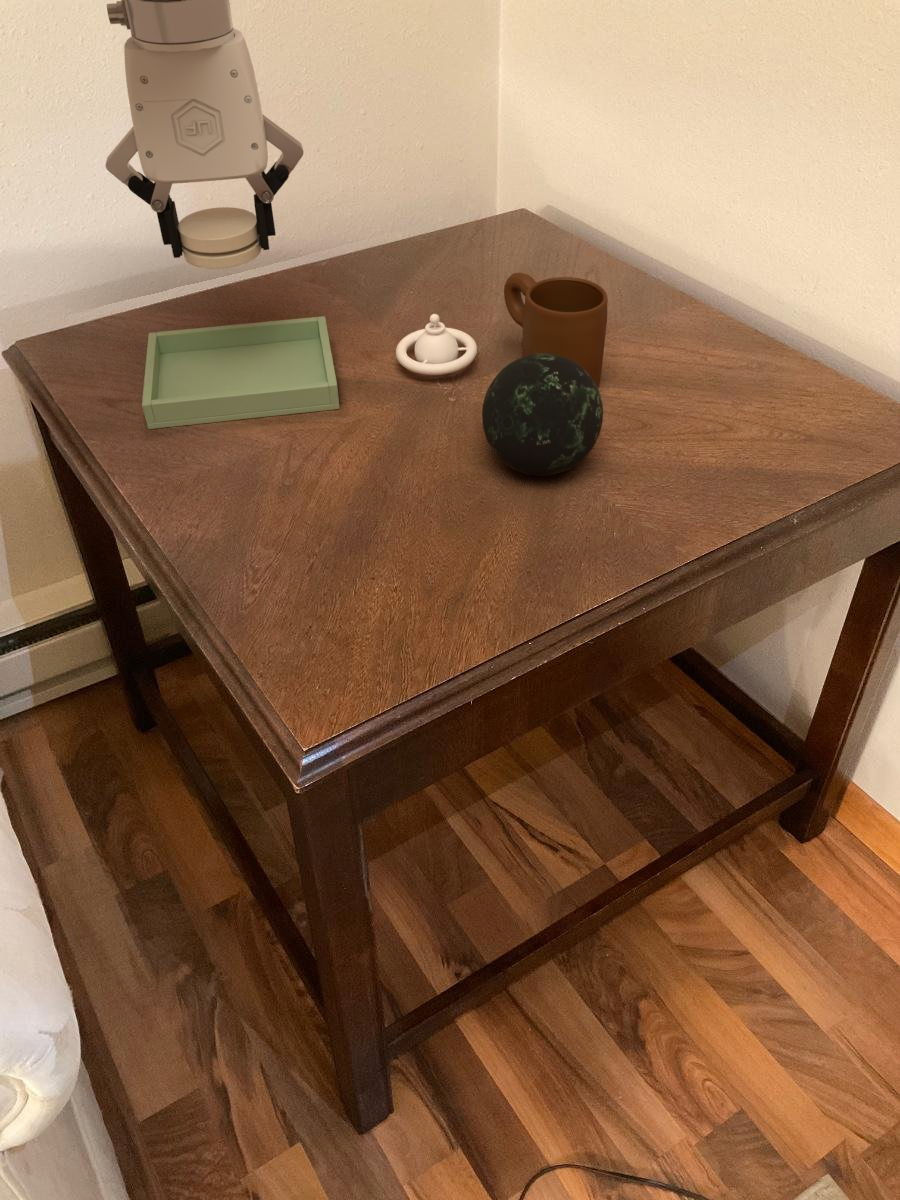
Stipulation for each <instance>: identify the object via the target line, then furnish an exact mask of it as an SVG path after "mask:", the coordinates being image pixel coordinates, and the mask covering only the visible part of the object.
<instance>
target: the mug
mask: <svg viewBox="0 0 900 1200" xmlns="http://www.w3.org/2000/svg"><path fill="white" fill-rule="evenodd" d="M522 295H523V296H524V297H525V298H524V301H523V297H522ZM503 297H504V302H505V306H506V309H507V311H508V313H509V315H510V317H511V318H512V320H513V321H514V322H515V323H516V324H517V325H518V326H520V327H521V328H522V336H521V339H522V340H521V345H522V346H521V358H522V357H525V356H528V355H532V354H539V353H546V354H555V355H559V356H563V357H565V358H568V359H570V360H572V361H574V362H575V363H577V364H578V365H580V366H581V367H582V368H583V369H584V370H585V371H586V372H587V373H588V374H589V375H590V377H591V378H592V379H593V381H594V382H595V384H596V386H597V388H598V389H599V388H600V384H601V378H602V369H603V360H604V352H605V343H606V334H607V333H606V332H607V323H608V301H609V300H608V294H607V292H606V290H605V289H604V288H603V287H602V286H601V285H599V284H598V283H595V282H593V281H591V280H588V279H584V278H580V277H572V276H571V277H570V276H557V277H549V278H545V279H542V280H539V281H536V280H535V279H534V278H533V277H532V276H531V275H530V274H527V273H524V272H513V273H512V274H510V276H508V277H507V278H506V281H505V283H504V288H503Z"/></svg>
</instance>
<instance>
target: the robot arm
mask: <svg viewBox="0 0 900 1200" xmlns="http://www.w3.org/2000/svg"><path fill="white" fill-rule="evenodd" d="M231 10H232V9H231V3H230V0H116V2H115V3H114V2H113V3H106V11H107V17H108V21H109V24H110V25H120V26H122V27H126V30H130V37H129V38H127V39H126V41H125V42H124V45H123V46H124V47H123V48H124V49H123V50H124V51H123V53H124V71H125V83H126V89H127V95H128V102H129V109H130V110H129V111H130V115H131V121H132V127H131V128H130V130H129V131H128V132H127V133H126V134H125V135H124V136H123V138H122V139H121V140H120V142H118V144H117V145H116V146H115V147H114V148H113V150H112V151H111V152H110V153H109V155H108V156H107V157H106V159H105V169H106V170H107V171H108V172H109V173H110V174H111V175H112V176H113V177H115V178H116V179H117V180H118V181H120V182H121V183H122V184H124V185H125V186H126V187H127V188H128V189H129V191H130V192H132V193H133V194H134V195H136V197H137V198H140V199H141V200H143V202H145V203H146V204H148V205H149V206H150V208H151V210H152V211H153V212H155V213H156V216H157V220H158V224H159V230H160V234H161V235H160V236H161V239H162V243H163V245H164V246H169V245H170V247H171V251H172V256H173V258H174V259H178V258H181V257H182V256H183V252H182V244H181V242H180V237H179V232H178V224H179V222H180V220H179V217H178V212H177V207H176V201H175V200H173V199H172V197H171V195H170V193H171V190H172V186H173V185H175V184H189V183H190V184H191V183H201V182H214V181H226V180H239V179H245V180H246V181H247V183H248V184H249V185H250V187H251V188H252V190H253V191H254V194H253V203H254V211H255V216H256V219H257V226H258V232H259V239H260V245H261V250H262V249H263V251H268V250H270V242H269V237H273V236H274V237H275V236H276V227H275V226H276V225H275V220H274V212H273V206H272V202H273V201H274V197H275V196H276V194H277V193H278V192H279V191H280V189H282V187H283V186H284V184H285V183H286V182H287V181H288V179H289V177H290V174H291V173H292V171H294V169H295V168H296V166H297V165H298V163H299V162H300V161H301V159H302V157H304V156H303V155H304V148H303V144H302V142H300V141H299V140H297V139H296V138H295V137H294V136H292V134H290V133H288V132H287V131H285V130H284V129H283V128H281V127H280V126H279V125H277V124H276V123H275V122H274V121H272V120H271V119H269V118H268V117H267V116H266V115H265V114H263V109H262V104H261V103H262V102H261V98H260V94H259V89H258V84H257V83H258V82H257V79H256V74H255V69H254V66H253V63H252V58H251V55H250V52H249V48H248V45H247V42H246V39H245V36H244V35H243V32H242V31H241V30H239V29H236V28H234V24H233V17H232V11H231ZM268 143H270V144H271V145H272V146H274V147H275V148H276V149H278V150H279V151H280V152H281V154H280V156H279V158H278V159H277V160H276V161H275V162H274V163H273V164H272V165H271V167H270V168H269V170H268V171H267V172H266V171H265V170H266V169H267V166H268V160H269V159H268V158H269V154H268V152H269V151H268ZM137 153H138V158H139V163H140V166H141V169H142V172H143V173H141V172H139V171H137V170H136V169H135V168H134V166H133V165H131V164H130V161H131V159H133V158H134V156H135V155H136V154H137Z"/></svg>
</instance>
